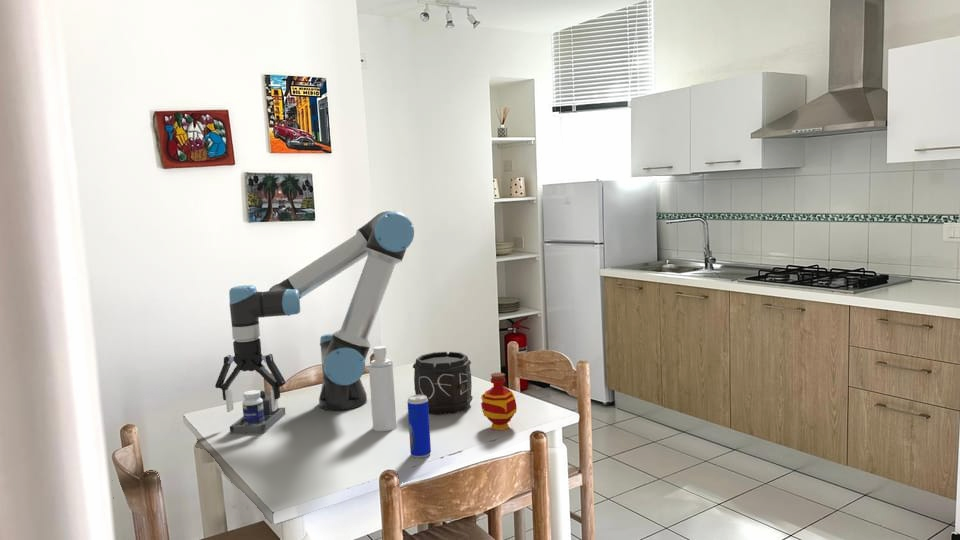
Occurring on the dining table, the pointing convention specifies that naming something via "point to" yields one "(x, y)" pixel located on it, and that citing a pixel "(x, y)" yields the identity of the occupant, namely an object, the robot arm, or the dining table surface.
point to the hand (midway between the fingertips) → (252, 410)
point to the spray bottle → (382, 391)
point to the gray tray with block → (269, 418)
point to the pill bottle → (253, 408)
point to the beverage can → (419, 426)
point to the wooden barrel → (444, 381)
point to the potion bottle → (498, 403)
